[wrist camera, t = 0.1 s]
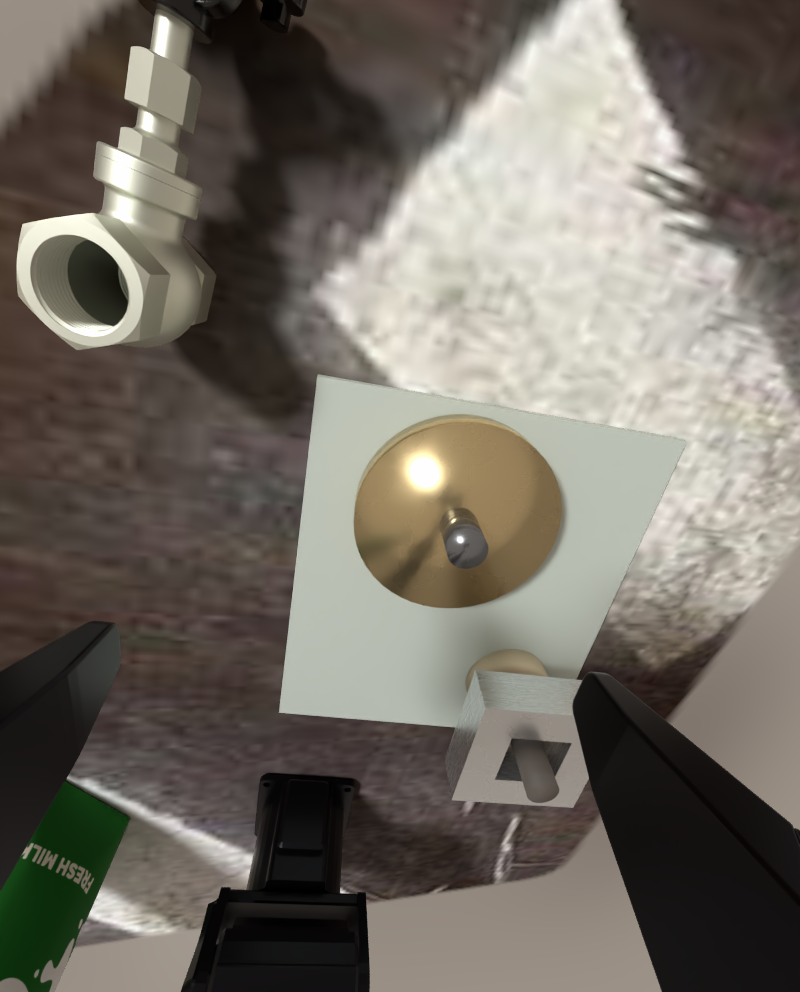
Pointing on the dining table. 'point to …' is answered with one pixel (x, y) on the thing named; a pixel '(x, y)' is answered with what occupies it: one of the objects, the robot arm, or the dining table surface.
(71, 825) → the milk carton
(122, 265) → the valve
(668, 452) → the mat
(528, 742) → the stand
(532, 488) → the bell
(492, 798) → the square ring
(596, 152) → the dining table surface
